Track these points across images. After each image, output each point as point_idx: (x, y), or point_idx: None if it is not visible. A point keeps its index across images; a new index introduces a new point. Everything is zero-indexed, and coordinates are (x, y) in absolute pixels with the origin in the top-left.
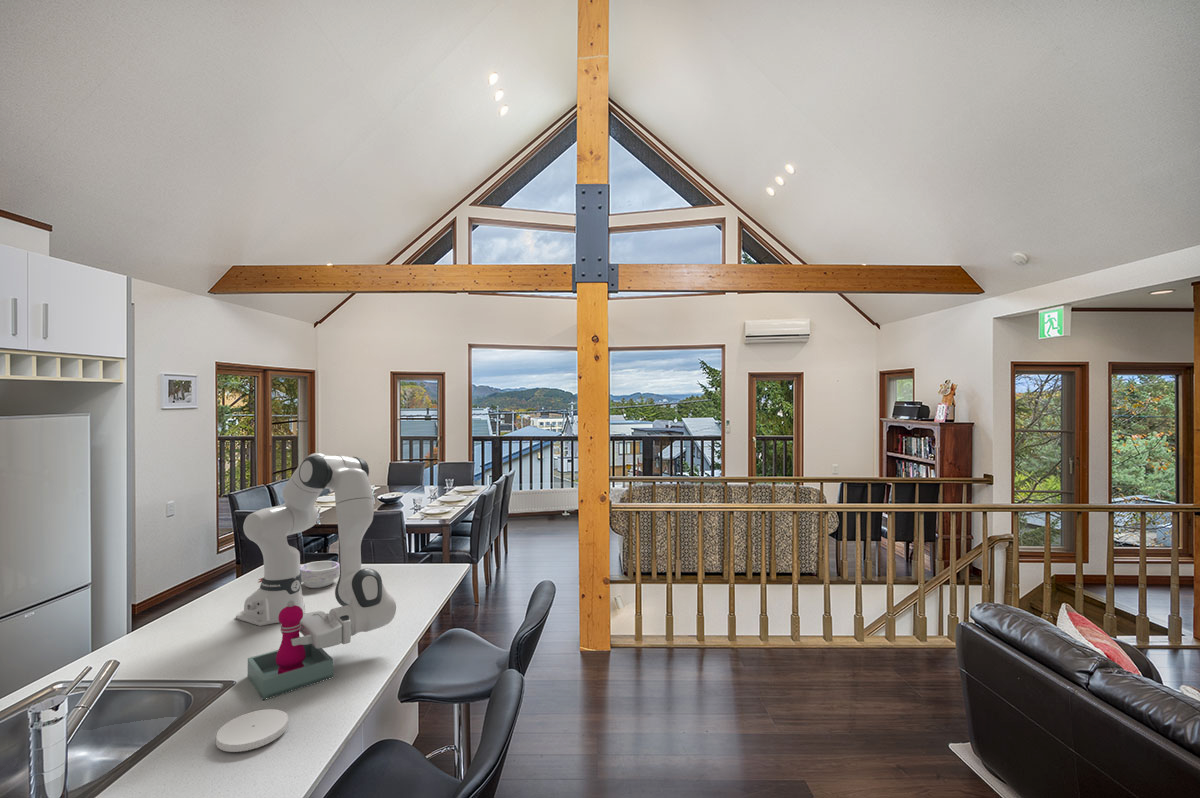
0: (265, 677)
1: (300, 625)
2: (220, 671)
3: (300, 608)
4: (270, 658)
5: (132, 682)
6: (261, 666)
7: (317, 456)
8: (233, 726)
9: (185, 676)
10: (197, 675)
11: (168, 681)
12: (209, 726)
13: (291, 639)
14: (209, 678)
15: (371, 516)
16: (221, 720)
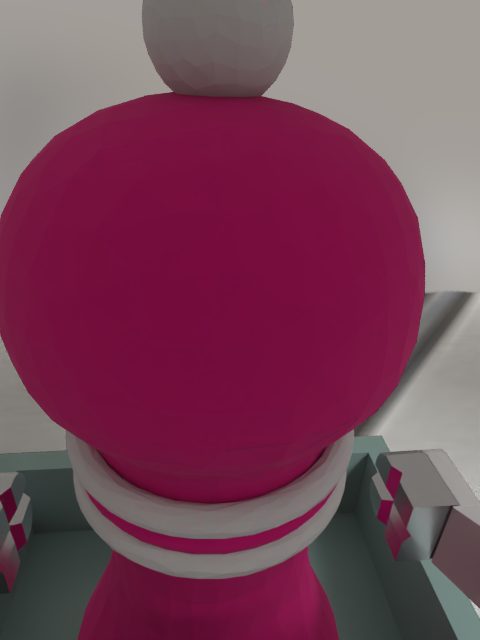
0: (27, 467)
1: (147, 535)
2: (464, 434)
3: (130, 209)
4: (401, 565)
5: (449, 301)
6: (373, 538)
7: None
8: None
9: (450, 364)
10: (448, 384)
11: (426, 339)
12: (11, 382)
13: (8, 473)
14: (405, 405)
15: None
16: (14, 405)
